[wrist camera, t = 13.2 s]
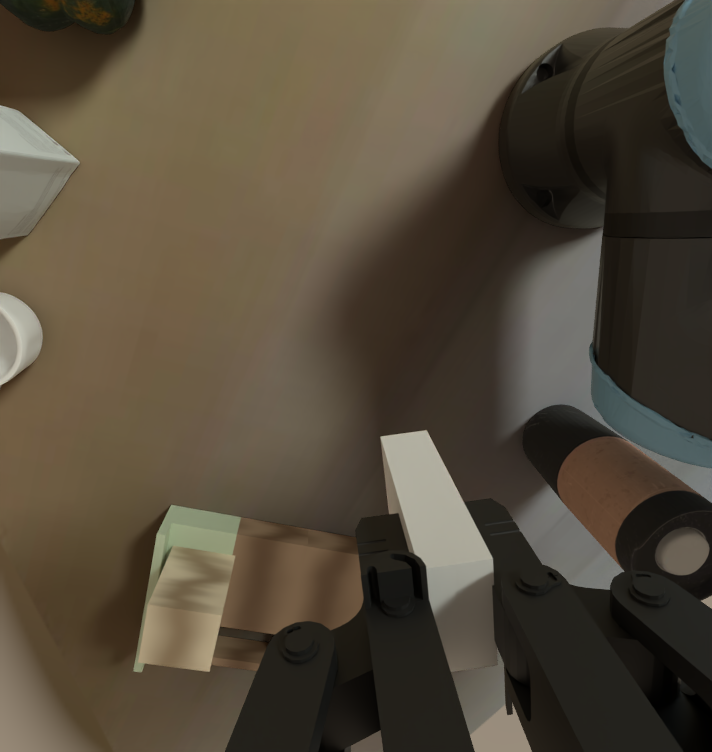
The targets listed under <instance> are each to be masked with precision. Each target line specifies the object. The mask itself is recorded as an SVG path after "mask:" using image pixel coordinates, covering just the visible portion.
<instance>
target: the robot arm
mask: <svg viewBox="0 0 712 752" xmlns="http://www.w3.org/2000/svg"><path fill="white" fill-rule="evenodd" d="M499 155H500V162H501V167H502V171H503V174H504V177H505V180H506V182H507V184H508V186H509V188H510V190H511V192H512V193H513V195H514V197H515V198H516V199H517V201H518V202H519V203H520V204H521V205H522V206H523V207H524V208H525V209H526V210H527V211H528V212H529V213H531V214H532V215H533V216H535V217H536V218H538V219H540V220H542V221H544V222H546V223H549V224H552V225H555V226H559V227H565V228H596V227H601V226H604V228H603V235H602V246H601V256H600V267H599V278H598V288H597V299H596V310H595V321H594V331H593V341H592V343H591V345H590V348H589V356H590V361H591V363H592V379H591V395H592V400H593V403H594V406H595V408H596V409H597V410H598V412H599V413H600V414H601V415H602V417H603V419H604V421H605V422H606V423H607V424H608V425H609V426H611V427H612V428H613V429H614V430H615V431H617V432H618V433H619V434H621V435H622V436H624V437H625V438H627V439H629V440H630V441H632V442H634V443H636V444H638V445H640V446H642V447H644V448H646V449H648V450H651V451H653V452H656V453H658V454H660V455H663V456H666V457H669V458H672V459H675V460H677V461H681V462H684V463H688V464H692V465H696V466H701V467H706V468H712V0H674V1H673V2H671V3H670V4H668V5H666V6H665V7H663V8H661V9H660V10H658V11H656V12H655V13H653V14H652V15H650V16H648V17H647V18H645V19H643V20H642V21H640V22H638V23H637V24H635V25H634V26H632V27H630V28H598V29H592V30H588V31H585V32H581V33H578V34H576V35H573V36H571V37H569V38H567V39H565V40H563V41H562V42H560V43H558V44H557V45H555V46H554V47H553V48H551V49H550V50H548V51H547V52H545V53H544V54H543V55H541V56H540V57H539V58H538V59H537V60H535V61H534V62H533V63H532V64H531V65H530V66H529V67H528V69H527V70H526V71H525V72H524V73H523V75H522V76H521V77H520V79H519V80H518V82H517V83H516V85H515V87H514V88H513V90H512V92H511V94H510V96H509V98H508V101H507V103H506V106H505V109H504V112H503V116H502V120H501V125H500V132H499ZM380 438H381V447H382V456H383V465H384V474H385V483H386V492H387V502H388V511H389V514H388V515H381V516H374V517H367V518H362V519H361V521H360V522H359V524H358V526H357V528H356V530H355V531H356V539H357V547H358V555H359V563H360V571H361V582H362V590H363V604H362V607H361V609H360V610H359V612H358V613H357V614H356V616H355V617H353V618H352V619H351V620H350V621H349V622H347V623H345V624H343V625H342V626H340V627H337V628H335V629H333V630H330V629H328V628H327V627H325V626H324V625H322V624H321V623H317V622H312V621H304V622H296V623H294V624H291V625H289V626H286V627H284V628H283V629H281V630H280V631H279V632H278V633H277V634H275V635H274V636H273V638H272V639H271V641H270V642H269V644H268V645H267V648H266V650H265V653H264V655H263V658H262V660H261V663H260V665H259V668H258V670H257V673H256V675H255V678H254V680H253V683H252V685H251V688H250V690H249V693H248V695H247V698H246V700H245V703H244V705H243V708H242V710H241V713H240V715H239V718H238V720H237V723H236V725H235V728H234V730H233V733H232V735H231V738H230V740H229V743H228V745H227V748H226V750H225V752H351V745H353V744H355V743H357V742H359V741H360V740H362V739H364V738H366V737H368V736H370V735H372V734H374V733H376V732H378V731H379V730H381V736H382V743H383V751H384V752H475V751H474V748H473V745H472V741H471V738H470V735H469V731H468V728H467V725H466V721H465V718H464V715H463V711H462V708H461V705H460V701H459V698H458V695H457V691H456V688H455V685H454V681H453V678H452V675H451V672H456V671H463V670H469V669H476V668H482V667H489V666H495V665H497V648H498V650H499V652H500V655H501V657H502V660H503V662H504V674H505V701H506V709H507V715H511V714H513V711H512V702H513V705H514V707H515V710H516V712H517V715H518V717H519V720H520V722H521V725H522V727H523V730H524V732H525V734H526V737H527V740H528V742H529V745H530V747H531V750H532V752H712V609H711V608H710V607H708V606H707V605H705V604H704V603H703V602H701V601H700V600H698V599H697V598H696V597H694V596H693V595H691V594H690V593H689V592H687V591H686V590H684V589H683V588H682V587H680V586H679V585H677V584H676V583H674V582H673V581H671V580H669V579H667V578H665V577H663V576H661V575H658V574H654V573H651V572H648V571H635V570H633V571H628V572H622V573H620V574H619V575H617V576H616V577H614V578H613V580H612V583H611V585H610V590H604V589H593V588H584V587H578V586H574V585H570V584H569V583H568V582H567V580H566V579H565V578H564V577H563V576H562V575H561V574H560V573H559V572H558V571H556V570H554V569H552V568H550V567H548V566H545V565H542V563H541V562H540V560H539V559H538V557H537V556H536V554H535V553H534V551H533V550H532V548H531V546H530V545H529V543H528V542H527V540H526V539H525V537H524V536H523V534H522V533H521V532H520V531H519V528H518V526H517V525H516V523H515V522H513V519H512V517H511V516H510V514H509V513H508V511H507V510H506V508H505V507H504V506H502V505H500V504H499V503H497V502H496V501H494V500H493V499H484V500H477V501H470V502H463V500H462V498H461V496H460V494H459V492H458V490H457V488H456V486H455V484H454V482H453V480H452V478H451V476H450V475H449V473H448V471H447V469H446V467H445V465H444V463H443V461H442V459H441V457H440V455H439V453H438V451H437V449H436V447H435V446H434V444H433V442H432V440H431V438H430V436H429V434H428V432H427V430H425V431H418V432H410V433H403V434H396V435H388V436H381V437H380Z"/></svg>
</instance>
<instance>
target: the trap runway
mask: <svg viewBox="0 0 712 752" xmlns="http://www.w3.org/2000/svg"><path fill="white" fill-rule="evenodd" d="M233 555H234V556H235V560H234V565H233V569H232V574H231V578H230V583H229V588H228V592H227V597H226V601H225V606H224V610H223V615H222V619H221V624H220V627H227V628H234V629H241V630H248V631H255V632H262V633H269V634H277V633H278V632H279V631H280V630H281V629H283V628H284V627H286V626H289V625H291V624H294V623H296V622H304V621H312V622H317V623H321V624H322V625H324V626H325V627H327V628H328V629H330V630H333V629H335V628H337V627H340V626H342V625H343V624H345V623H347V622H349V621H350V620H351V619H352V618H353V617H355V616H356V614H357V613H358V612H359V610H360V609H361V606H362V603H363V590H362V582H361V571H360V563H359V555H358V547H357V539H356V537H351V536H345V535H339V534H334V533H328V532H322V531H317V530H311V529H305V528H300V527H294V526H288V525H283V524H277V523H271V522H266V521H260V520H254V519H249V518H243V517H241V520H240V524H239V528H238V532H237V536H236V541H235V545H234V550H233ZM268 644H269V642H262V641H255V640H248V639H241V638H234V637H227V636H220V635H218V637H217V641H216V645H215V650H214V654H213V658H212V663H211V665H216V666H224V667H231V668H239V669H246V670H254V671H257V670H258V668H259V665H260V663H261V660H262V658H263V655H264V653H265V650H266V648H267V645H268Z"/></svg>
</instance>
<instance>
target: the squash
mask: <svg viewBox="0 0 712 752" xmlns="http://www.w3.org/2000/svg"><path fill="white" fill-rule="evenodd" d="M134 2H135V0H0V3H1V4H2V5H3V6H4V7H5V8H6V9H7V10H9V11H10V12H11V13H13V14H14V15H15V16H17V17H18V18H19V19H20V20H22V21H23V22H24V23H25V24H27V25H29V26H31V27H34V28H36V29H39V30H42V31H56V30H60V29H63V28H66V27H68V26H70V25H71V24H73V23H74V22H75V23H77V24H79V25H80V26H82V27H84V28H86V29H88V30H91V31H93V32H95V33H99V34H112V33H114V32H116V31H117V30H118V29H120V28H122V27H123V26H124V25H125V24H126V22H127V21H128V19H129V18H130V16H131V13H132V10H133V6H134Z"/></svg>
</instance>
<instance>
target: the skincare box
mask: <svg viewBox="0 0 712 752" xmlns="http://www.w3.org/2000/svg"><path fill="white" fill-rule="evenodd" d="M79 164H80V162H79V161H78V160H77V159H76V158H75V157H73V156H72V155H71V154H70V153H69V152H68V151H66V150H65V149H64V148H63V147H62V146H60V145H59V144H58V143H57V142H56V141H55V140H53V139H52V138H51V137H50V136H49V135H47V134H46V133H45V132H44V131H43V130H41V129H40V128H39V127H38V126H37V125H35V124H34V123H33V122H32V121H31V120H29V119H28V118H27V117H26V116H25V115H23V114H22V113H21V112H20V111H18V110H15V109H12V108H8V107H5V106H1V105H0V239H4V238H12V237H19V236H27V235H28V234H29V233H30V232H31V231H32V229H33V228H34V227H35V225H36V224H37V223H38V221H39V220H40V218H41V217H42V216H43V214H44V213H45V212H46V210H47V209H48V207H49V206H50V205H51V203H52V202H53V201H54V199H55V198H56V196H57V195H58V194H59V192H60V191H61V189H62V188H63V187H64V185H65V183H66V182H67V180H68V179H69V177H70V175H71V174H72V173H73V172H74V170H75V169H76V168H77V166H78V165H79Z"/></svg>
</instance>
